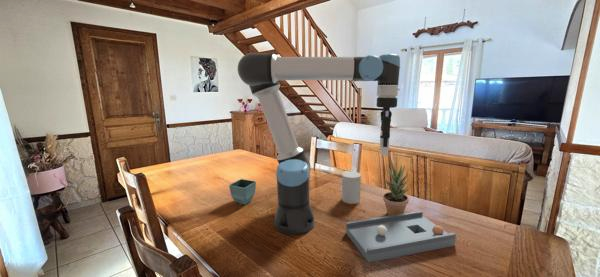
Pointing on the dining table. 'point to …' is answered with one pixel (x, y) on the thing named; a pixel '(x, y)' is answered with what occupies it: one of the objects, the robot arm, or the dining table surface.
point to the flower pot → (242, 190)
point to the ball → (381, 230)
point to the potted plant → (396, 192)
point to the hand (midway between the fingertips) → (383, 150)
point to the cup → (351, 187)
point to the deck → (396, 236)
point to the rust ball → (438, 230)
